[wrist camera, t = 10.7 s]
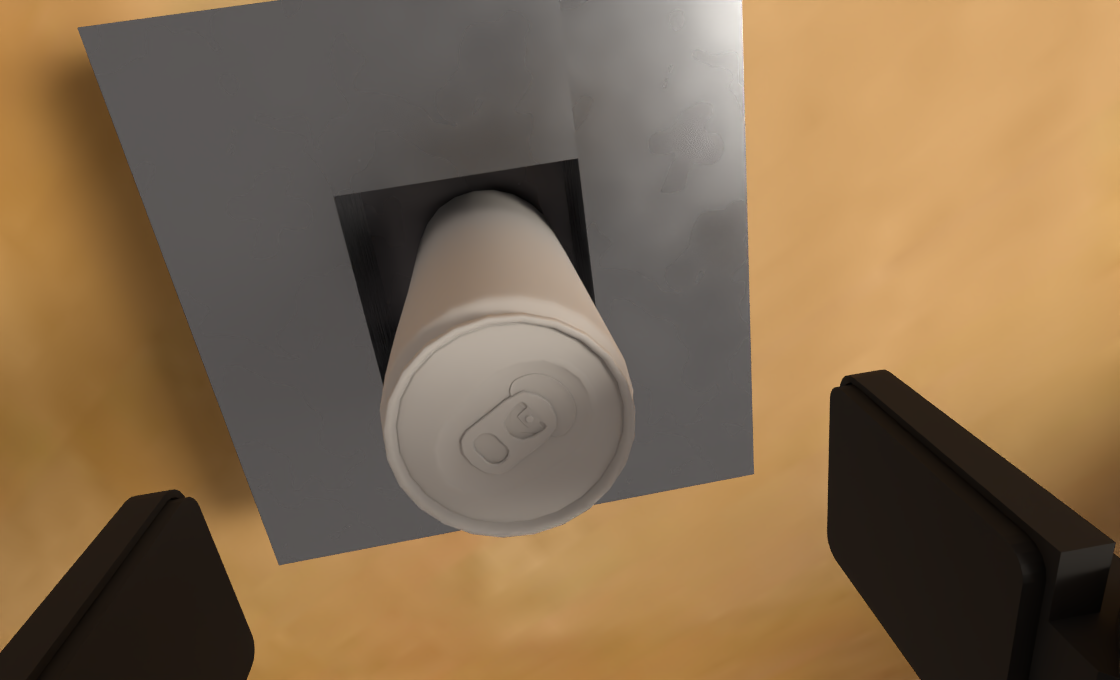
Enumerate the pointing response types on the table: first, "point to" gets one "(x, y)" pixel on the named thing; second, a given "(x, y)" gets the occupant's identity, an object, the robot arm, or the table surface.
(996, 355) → the table surface
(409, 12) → the socket block
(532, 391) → the beverage can
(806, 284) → the table surface
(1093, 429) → the table surface
